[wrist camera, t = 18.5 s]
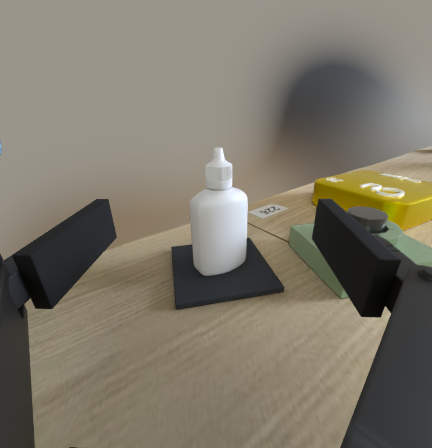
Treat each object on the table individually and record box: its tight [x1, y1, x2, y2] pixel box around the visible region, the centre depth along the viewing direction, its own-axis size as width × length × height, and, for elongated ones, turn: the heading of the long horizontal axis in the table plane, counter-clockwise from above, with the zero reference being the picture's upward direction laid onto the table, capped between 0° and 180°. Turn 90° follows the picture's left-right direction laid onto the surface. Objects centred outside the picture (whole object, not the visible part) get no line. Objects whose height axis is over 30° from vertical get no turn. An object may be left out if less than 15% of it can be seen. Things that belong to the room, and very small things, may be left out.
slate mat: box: [171, 238, 284, 309], centre depth 26 cm, size 10×10×1 cm
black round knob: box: [347, 206, 388, 234], centre depth 25 cm, size 4×4×2 cm
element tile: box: [312, 170, 432, 231], centre depth 40 cm, size 15×15×5 cm
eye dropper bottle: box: [190, 148, 248, 276], centre depth 23 cm, size 4×6×12 cm
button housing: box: [289, 220, 432, 299], centre depth 26 cm, size 11×10×4 cm
